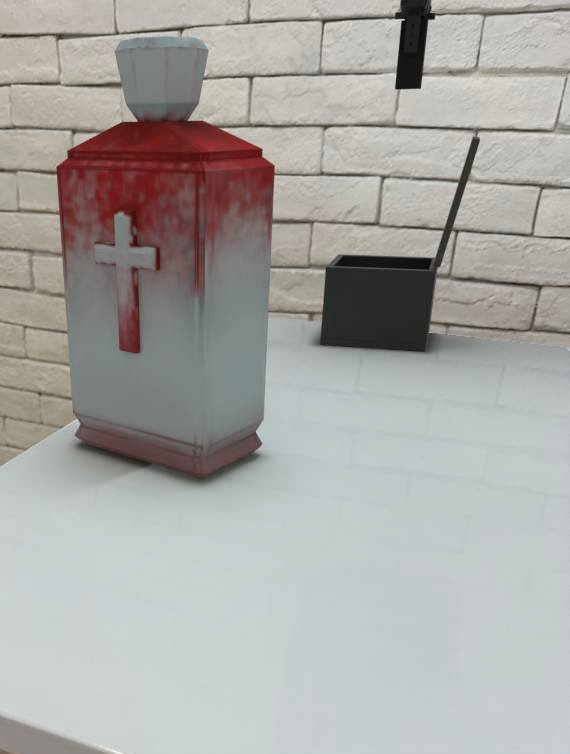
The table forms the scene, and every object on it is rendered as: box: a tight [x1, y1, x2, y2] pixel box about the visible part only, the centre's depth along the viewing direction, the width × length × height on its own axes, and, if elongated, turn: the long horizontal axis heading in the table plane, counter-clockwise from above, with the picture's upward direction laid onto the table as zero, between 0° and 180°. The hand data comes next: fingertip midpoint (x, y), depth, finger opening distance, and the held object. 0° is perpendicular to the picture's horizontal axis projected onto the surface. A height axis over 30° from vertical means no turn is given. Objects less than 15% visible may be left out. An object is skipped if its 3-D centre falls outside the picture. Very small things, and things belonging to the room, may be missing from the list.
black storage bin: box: [319, 253, 439, 352], centre depth 102 cm, size 13×11×9 cm
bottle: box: [55, 35, 276, 480], centre depth 63 cm, size 14×10×30 cm
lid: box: [433, 135, 481, 268], centre depth 95 cm, size 13×11×1 cm
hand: (407, 88), depth 91 cm, fingers closed
